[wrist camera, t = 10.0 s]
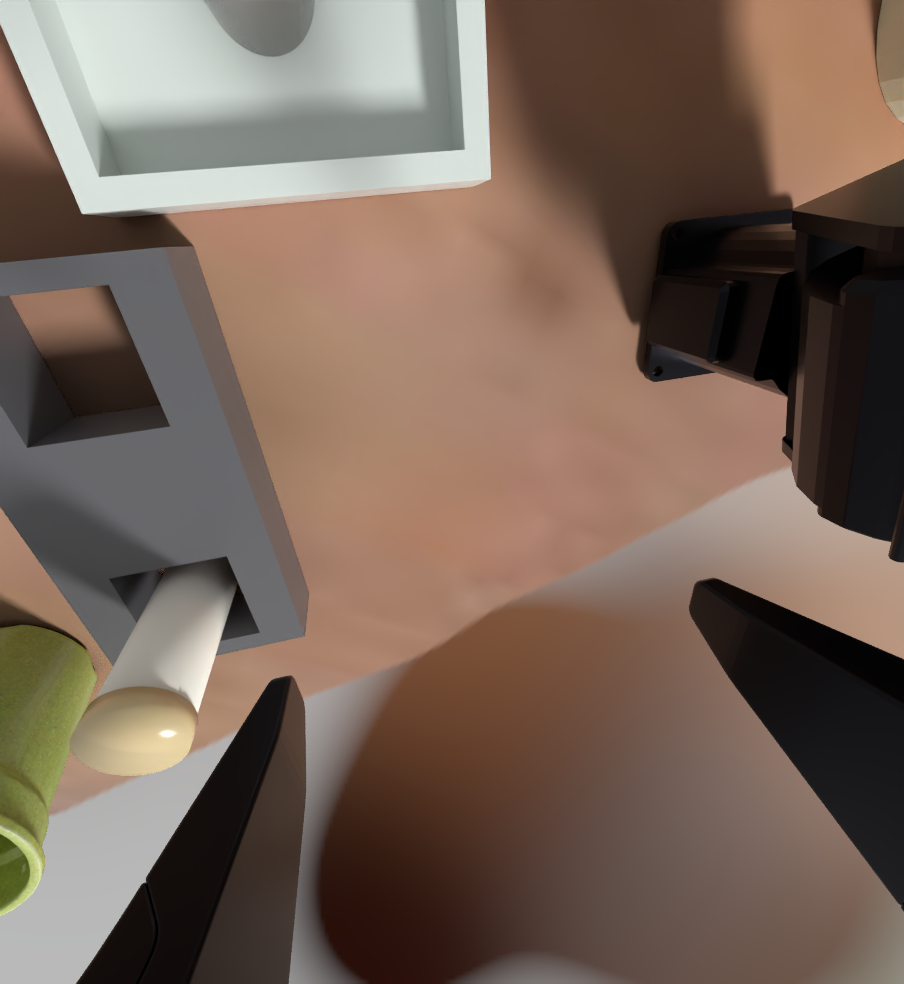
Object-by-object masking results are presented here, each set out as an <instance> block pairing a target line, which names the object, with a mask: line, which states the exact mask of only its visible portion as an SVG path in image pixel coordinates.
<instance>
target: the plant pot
mask: <svg viewBox="0 0 904 984" xmlns="http://www.w3.org/2000/svg"><path fill="white" fill-rule="evenodd" d="M96 680H97V674H96V673H95V671H94V669H93V666H92V663H91V659H90V655H89V653H88V652H87V651H86V650H85V649H84V648H83V647H82V646H81V645H79V644H78V643H76V642H75V641H73V640H72V639H70V638H68V637H66V636H64V635H62V634H59V633H57V632H54V631H51V630H48V629H45V628H41V627H36V626H31V625H17V626H12V627H4V628H0V916H2V915H4V914H6V913H8V912H10V911H12V910H13V909H15V908H16V907H18V906H19V905H20V904H22V903H23V902H24V901H25V900H26V899H28V898H29V897H30V896H31V894H32V893H33V892H34V891H35V889H36V888H37V886H38V884H39V882H40V879H41V877H42V875H43V871H44V867H45V856H44V852H43V849H42V844H43V841H44V838H45V835H46V832H47V828H48V811H49V808H50V805H51V802H52V800H53V797H54V794H55V791H56V788H57V786H58V783H59V780H60V777H61V775H62V772H63V769H64V766H65V764H66V761H67V758H68V755H69V753H70V750H71V749H70V738H71V735H72V734H73V732H74V730H75V728H76V726H77V724H78V723H79V721H80V719H81V717H82V715H83V714H84V712H85V710H86V707H87V705H88V702H89V699H90V697H91V694H92V691H93V688H94V686H95V683H96Z"/></svg>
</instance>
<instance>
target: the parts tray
mask: <svg viewBox="0 0 904 984" xmlns="http://www.w3.org/2000/svg"><path fill="white" fill-rule="evenodd" d="M0 25H1V27H2V29H3V31H4V34H5V36H6V38H7V41H8V43H9V45H10V48H11V50H12V52H13V55H14V57H15V59H16V62H17V64H18V66H19V69H20V71H21V73H22V76H23V78H24V80H25V83H26V85H27V87H28V90H29V92H30V94H31V97H32V99H33V101H34V103H35V106H36V108H37V110H38V113H39V115H40V117H41V120H42V122H43V124H44V127H45V129H46V131H47V134H48V136H49V138H50V141H51V143H52V145H53V148H54V150H55V152H56V155H57V157H58V159H59V162H60V164H61V166H62V169H63V171H64V173H65V176H66V178H67V180H68V182H69V185H70V187H71V189H72V192H73V194H74V196H75V199H76V201H77V203H78V206H79V208H80V210H81V213H82V214H88V215H97V216H106V217H115V218H121V217H132V216H143V215H155V214H166V213H178V212H189V211H201V210H212V209H224V208H235V207H247V206H258V205H270V204H281V203H293V202H304V201H316V200H327V199H338V198H350V197H361V196H373V195H384V194H396V193H407V192H419V191H430V190H442V189H453V188H465V187H474V186H476V185H478V184H481V183H483V182H485V181H488V180H490V179H491V167H490V139H489V110H488V82H487V53H486V25H485V0H315V4H314V14H313V19H312V23H311V26H310V29H309V31H308V33H307V35H306V37H305V38H304V40H303V41H302V42H301V44H300V45H299V46H298V47H297V48H295V49H294V50H293V51H291V52H289V53H287V54H285V55H282V56H276V57H267V56H262V55H258V54H255V53H253V52H251V51H249V50H247V49H245V48H243V47H242V46H241V45H239V44H238V43H237V42H235V41H234V40H233V39H232V38H231V37H230V36H229V35H228V34H227V33H226V32H225V31H224V29H223V28H222V27H221V26H220V24H219V23H218V21H217V20H216V18H215V17H214V15H213V13H212V12H211V10H210V8H209V6H208V5H207V3H206V1H205V0H0Z"/></svg>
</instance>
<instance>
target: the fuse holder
mask: <svg viewBox="0 0 904 984" xmlns="http://www.w3.org/2000/svg"><path fill="white" fill-rule="evenodd" d="M103 285H109V286H110V289H111V291H112V293H113V296H114V298H115V300H116V303H117V305H118V307H119V309H120V312H121V314H122V316H123V319H124V321H125V323H126V326H127V328H128V330H129V332H130V335H131V337H132V339H133V342H134V344H135V346H136V349H137V351H138V353H139V356H140V358H141V360H142V362H143V365H144V367H145V369H146V372H147V374H148V376H149V379H150V381H151V383H152V385H153V388H154V390H155V392H156V395H157V397H158V399H159V402H160V404H161V405H156V406H149V407H142V408H135V409H128V410H121V411H114V412H107V413H100V414H93V415H86V416H79V417H74V415H73V413H72V411H71V410H70V408H69V406H68V404H67V402H66V400H65V399H64V397H63V395H62V393H61V391H60V389H59V387H58V386H57V384H56V382H55V380H54V378H53V376H52V375H51V373H50V371H49V369H48V367H47V365H46V364H45V362H44V360H43V358H42V356H41V354H40V353H39V351H38V349H37V347H36V345H35V343H34V342H33V340H32V338H31V336H30V334H29V332H28V331H27V329H26V327H25V325H24V323H23V321H22V320H21V318H20V316H19V314H18V312H17V310H16V308H15V307H14V305H13V303H12V301H11V299H10V297H9V296H8V295H18V294H27V293H37V292H46V291H55V290H65V289H74V288H84V287H93V286H103ZM0 507H1V509H2V510H3V511H4V513H5V514H6V516H7V517H8V518H9V520H10V521H11V523H12V524H13V525H14V527H15V528H16V530H17V531H18V532H19V534H20V535H21V537H22V538H23V540H24V541H25V542H26V544H27V545H28V547H29V548H30V549H31V551H32V552H33V554H34V555H35V556H36V558H37V559H38V561H39V562H40V563H41V565H42V566H43V568H44V569H45V571H46V572H47V573H48V575H49V576H50V578H51V579H52V580H53V582H54V583H55V585H56V586H57V587H58V589H59V590H60V592H61V593H62V594H63V596H64V597H65V599H66V600H67V602H68V603H69V604H70V606H71V607H72V609H73V610H74V611H75V613H76V614H77V616H78V617H79V618H80V620H81V621H82V623H83V624H84V625H85V627H86V628H87V630H88V631H89V633H90V634H91V635H92V637H93V638H94V640H95V641H96V642H97V644H98V645H99V647H100V648H101V649H102V651H103V652H104V654H105V655H106V656H107V658H108V659H109V661H110V662H111V664H112V665H113V666H114V664H115V662H116V660H117V659H118V657H119V655H120V653H121V651H122V649H123V648H124V646H125V644H126V642H127V640H128V638H129V637H130V635H131V633H132V631H133V629H134V627H135V626H136V624H137V622H138V620H139V618H140V616H141V614H142V613H143V611H144V609H145V607H146V605H147V603H148V602H149V600H150V598H151V596H152V594H153V592H154V591H155V589H156V587H157V585H158V583H159V581H160V579H161V578H162V577H161V575H160V573H159V571H158V569H162V568H168V567H173V566H178V565H183V564H189V563H194V562H199V561H204V560H210V559H215V558H220V557H225V556H227V558H228V560H229V563H230V565H231V567H232V570H233V572H234V574H235V577H236V579H237V581H238V583H239V586H240V588H241V590H242V593H243V594H241V595H236V596H234V597H233V600H232V604H231V607H230V610H229V613H228V616H227V620H226V623H225V626H224V629H223V633H222V636H221V639H220V642H219V646H218V649H217V652H216V655H221V654H226V653H230V652H235V651H239V650H244V649H248V648H253V647H258V646H262V645H267V644H271V643H276V642H280V641H285V640H289V639H294V638H299V637H303V636H305V630H306V620H307V610H308V599H309V591H308V588H307V585H306V582H305V579H304V576H303V573H302V570H301V567H300V564H299V561H298V558H297V555H296V552H295V549H294V546H293V543H292V540H291V537H290V534H289V531H288V528H287V525H286V522H285V519H284V516H283V513H282V510H281V507H280V504H279V501H278V498H277V495H276V492H275V489H274V486H273V483H272V480H271V477H270V474H269V471H268V468H267V465H266V462H265V459H264V456H263V453H262V450H261V447H260V444H259V441H258V438H257V435H256V432H255V429H254V426H253V423H252V420H251V417H250V414H249V411H248V408H247V405H246V402H245V399H244V396H243V393H242V390H241V387H240V384H239V381H238V378H237V375H236V372H235V369H234V366H233V363H232V360H231V357H230V354H229V351H228V348H227V345H226V342H225V339H224V336H223V333H222V330H221V327H220V324H219V321H218V318H217V315H216V312H215V309H214V306H213V303H212V300H211V297H210V294H209V291H208V288H207V285H206V282H205V279H204V276H203V273H202V270H201V267H200V264H199V261H198V258H197V255H196V252H195V249H194V246H187V247H159V248H149V249H138V250H128V251H118V252H107V253H97V254H87V255H76V256H66V257H56V258H45V259H35V260H25V261H14V262H4V263H0ZM216 655H215V656H216Z"/></svg>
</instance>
